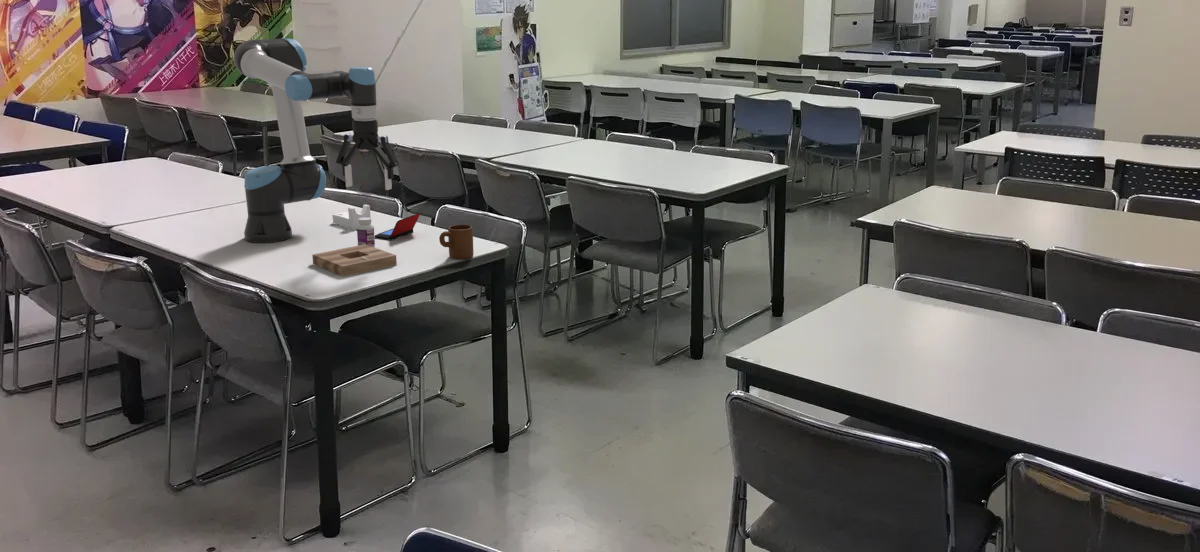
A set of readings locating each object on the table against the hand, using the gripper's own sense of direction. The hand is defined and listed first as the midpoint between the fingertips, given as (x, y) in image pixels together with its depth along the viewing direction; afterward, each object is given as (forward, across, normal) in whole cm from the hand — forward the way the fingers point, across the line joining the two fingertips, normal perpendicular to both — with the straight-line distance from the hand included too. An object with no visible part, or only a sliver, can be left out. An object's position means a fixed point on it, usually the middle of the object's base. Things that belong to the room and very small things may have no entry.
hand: (368, 187), depth 300 cm
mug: (+21, +28, +2) cm, 35 cm away
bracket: (+22, -26, +32) cm, 46 cm away
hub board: (+21, +2, -14) cm, 25 cm away
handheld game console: (+21, -3, +22) cm, 31 cm away
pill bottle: (+21, -5, +5) cm, 22 cm away
